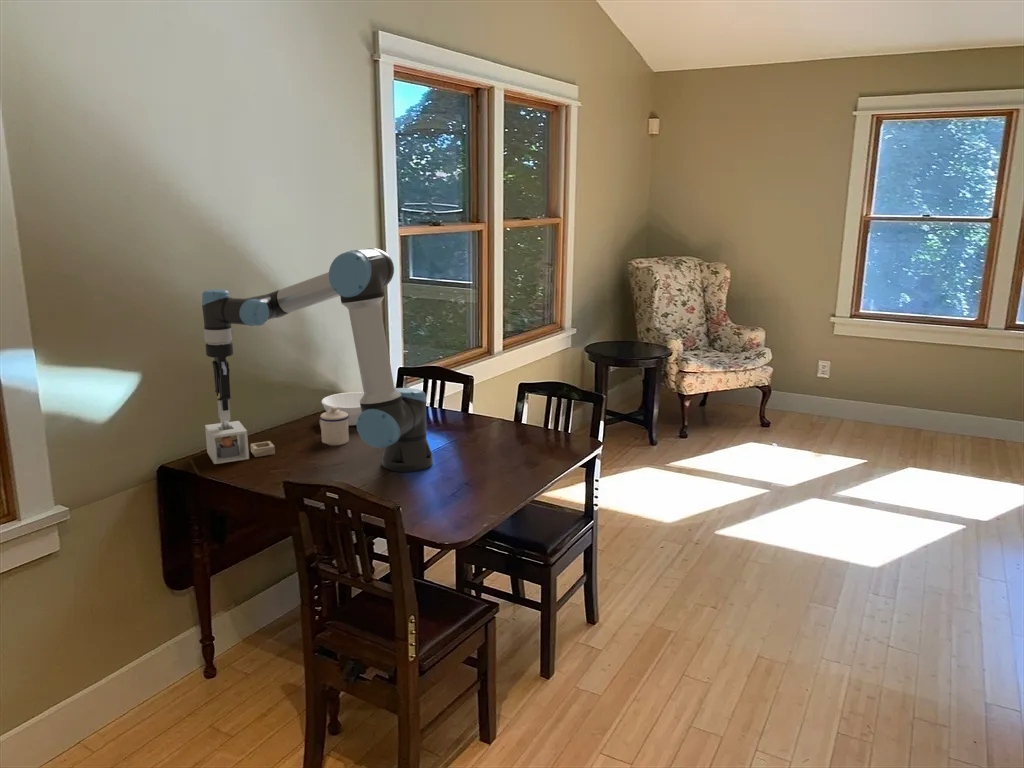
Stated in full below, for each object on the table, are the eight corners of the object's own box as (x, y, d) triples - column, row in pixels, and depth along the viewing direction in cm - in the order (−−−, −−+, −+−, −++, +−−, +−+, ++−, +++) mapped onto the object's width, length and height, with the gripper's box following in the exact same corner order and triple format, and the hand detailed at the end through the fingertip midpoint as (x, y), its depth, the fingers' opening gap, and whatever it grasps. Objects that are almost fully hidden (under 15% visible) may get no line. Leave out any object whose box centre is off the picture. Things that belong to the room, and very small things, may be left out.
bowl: (350, 434, 265) (349, 411, 263) (309, 422, 277) (308, 400, 275) (395, 420, 281) (394, 398, 279) (355, 410, 293) (354, 389, 291)
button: (233, 450, 240) (232, 438, 239) (223, 452, 238) (222, 439, 237) (231, 447, 242) (230, 435, 241) (221, 449, 241) (220, 436, 240)
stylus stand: (275, 455, 243) (274, 446, 242) (255, 458, 240) (254, 449, 239) (270, 450, 248) (269, 440, 247) (250, 452, 245) (250, 443, 244)
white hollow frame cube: (249, 460, 238) (247, 430, 236) (214, 465, 233) (211, 435, 231) (240, 449, 248) (238, 420, 246) (207, 454, 243) (204, 425, 241)
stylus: (231, 438, 239) (227, 393, 235) (222, 439, 238) (219, 394, 234) (229, 435, 241) (226, 391, 237) (221, 436, 240) (217, 392, 236)
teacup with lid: (355, 441, 257) (354, 407, 255) (332, 448, 251) (331, 412, 248) (332, 434, 265) (330, 400, 262) (309, 440, 258) (308, 406, 255)
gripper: (237, 346, 227) (243, 424, 233) (227, 337, 240) (232, 411, 246) (210, 348, 224) (216, 427, 229) (201, 338, 237) (207, 414, 242)
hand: (224, 418), depth 238 cm, fingers closed on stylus, 2 cm apart
